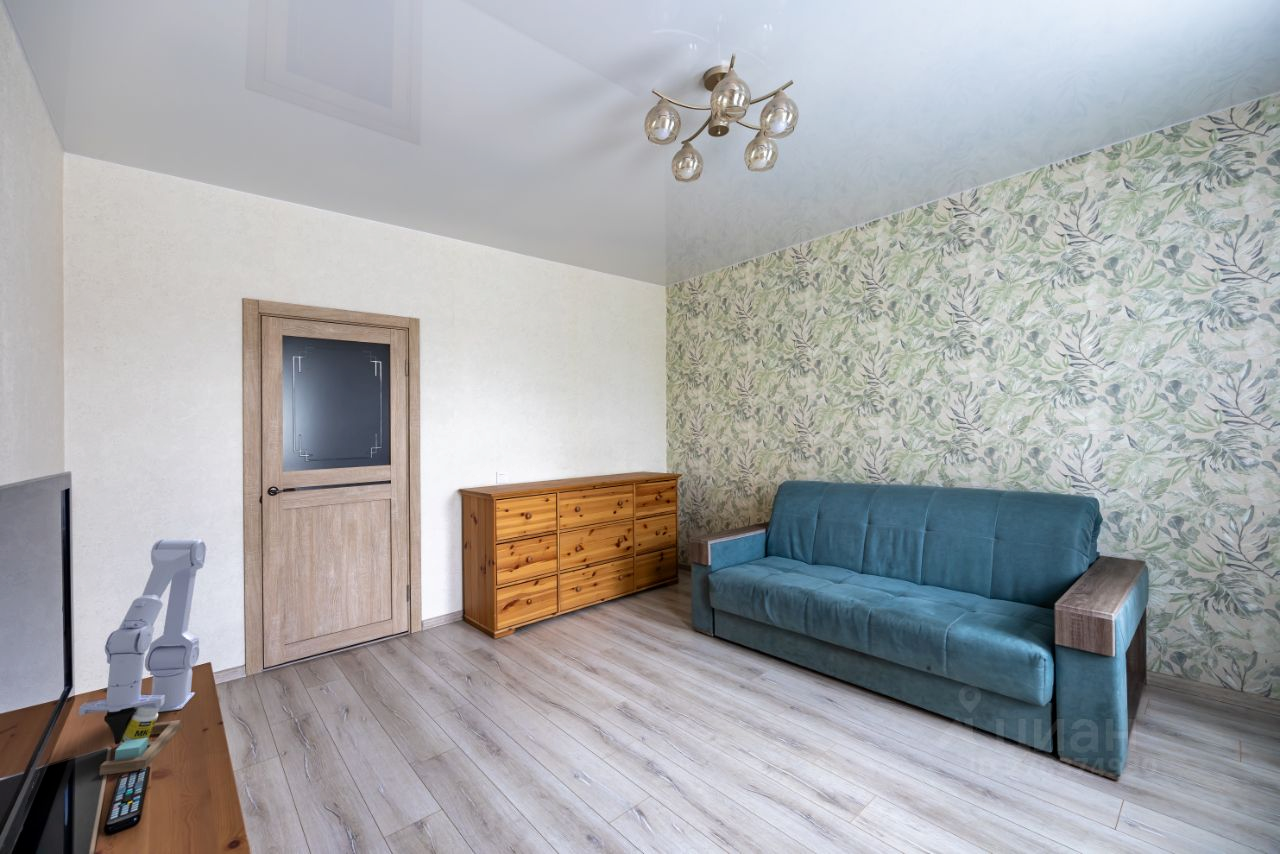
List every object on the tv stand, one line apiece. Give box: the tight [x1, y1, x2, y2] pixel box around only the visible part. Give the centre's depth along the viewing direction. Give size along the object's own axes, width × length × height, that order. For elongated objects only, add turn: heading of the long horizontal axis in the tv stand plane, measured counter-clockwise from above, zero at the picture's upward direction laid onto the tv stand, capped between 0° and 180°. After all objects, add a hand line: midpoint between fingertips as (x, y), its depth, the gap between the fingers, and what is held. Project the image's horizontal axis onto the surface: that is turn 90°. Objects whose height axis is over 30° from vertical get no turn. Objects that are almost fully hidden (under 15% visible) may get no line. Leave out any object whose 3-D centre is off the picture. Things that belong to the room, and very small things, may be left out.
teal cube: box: [114, 738, 149, 760], centre depth 116 cm, size 4×4×4 cm
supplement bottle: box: [120, 705, 160, 745], centre depth 123 cm, size 5×5×8 cm
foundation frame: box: [98, 719, 181, 776], centre depth 121 cm, size 18×8×2 cm, turn 22°
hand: (119, 741), depth 121 cm, fingers closed
